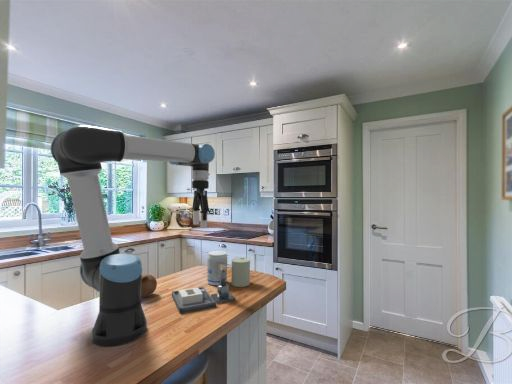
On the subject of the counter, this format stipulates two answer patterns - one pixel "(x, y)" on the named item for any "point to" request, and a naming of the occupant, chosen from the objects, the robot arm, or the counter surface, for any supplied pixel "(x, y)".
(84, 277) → the robot arm
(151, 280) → the onion
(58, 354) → the counter surface
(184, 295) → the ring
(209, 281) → the supplement tub
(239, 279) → the can
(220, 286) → the metal post stand
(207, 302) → the tray
